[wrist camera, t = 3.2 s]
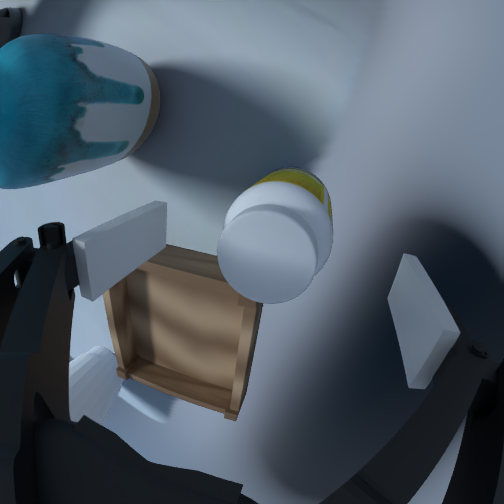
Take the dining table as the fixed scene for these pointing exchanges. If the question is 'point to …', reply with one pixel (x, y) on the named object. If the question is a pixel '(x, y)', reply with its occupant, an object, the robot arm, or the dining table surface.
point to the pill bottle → (277, 236)
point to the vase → (70, 107)
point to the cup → (93, 384)
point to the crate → (184, 329)
